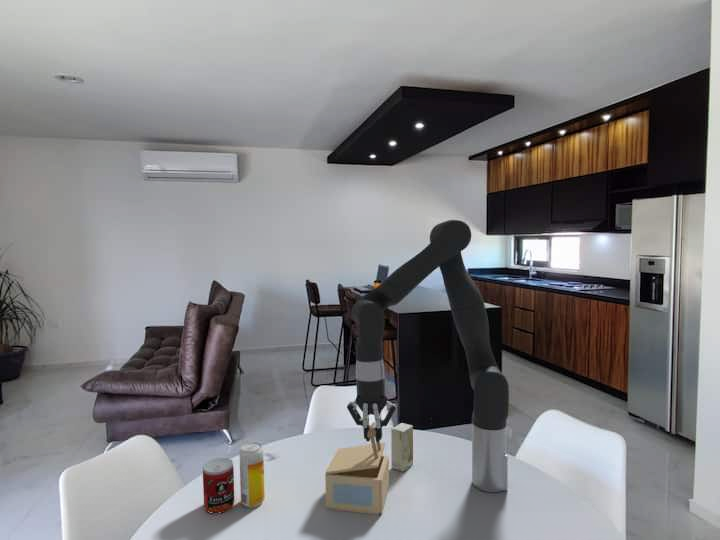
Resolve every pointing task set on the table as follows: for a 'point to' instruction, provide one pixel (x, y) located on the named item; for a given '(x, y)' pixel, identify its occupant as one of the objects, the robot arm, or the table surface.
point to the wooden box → (359, 489)
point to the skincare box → (402, 446)
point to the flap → (358, 455)
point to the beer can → (252, 474)
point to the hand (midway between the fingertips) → (373, 440)
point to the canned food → (218, 485)
